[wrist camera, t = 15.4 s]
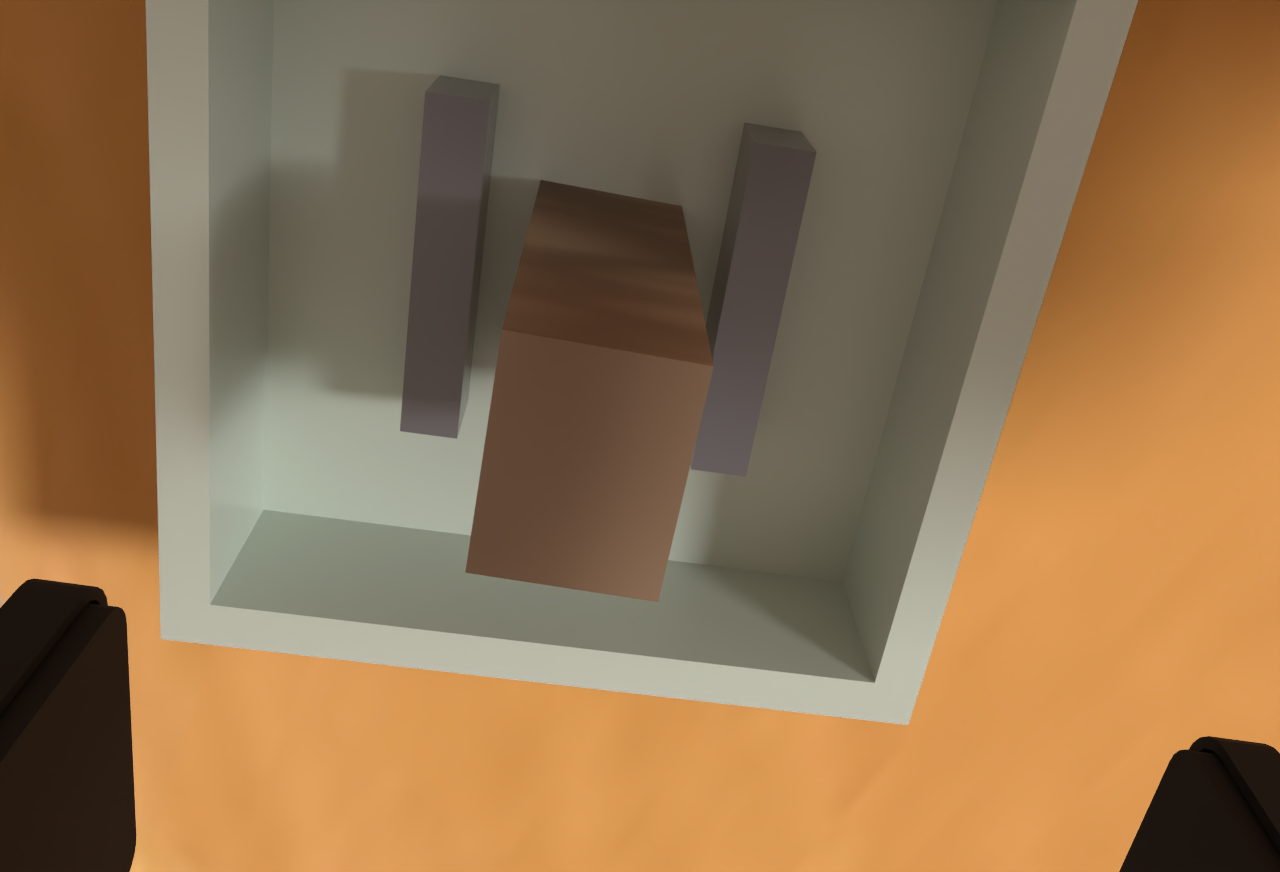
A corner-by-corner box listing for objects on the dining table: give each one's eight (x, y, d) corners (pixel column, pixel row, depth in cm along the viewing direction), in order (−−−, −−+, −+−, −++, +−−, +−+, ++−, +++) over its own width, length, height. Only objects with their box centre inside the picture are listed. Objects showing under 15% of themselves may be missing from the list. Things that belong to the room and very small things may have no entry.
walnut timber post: (682, 206, 25) (713, 366, 16) (645, 379, 26) (658, 602, 18) (540, 179, 24) (501, 329, 16) (513, 356, 26) (465, 572, 18)
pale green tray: (1052, -72, 23) (1157, -61, 19) (864, 598, 30) (907, 724, 25) (238, -214, 22) (140, -239, 17) (233, 520, 29) (161, 638, 24)
